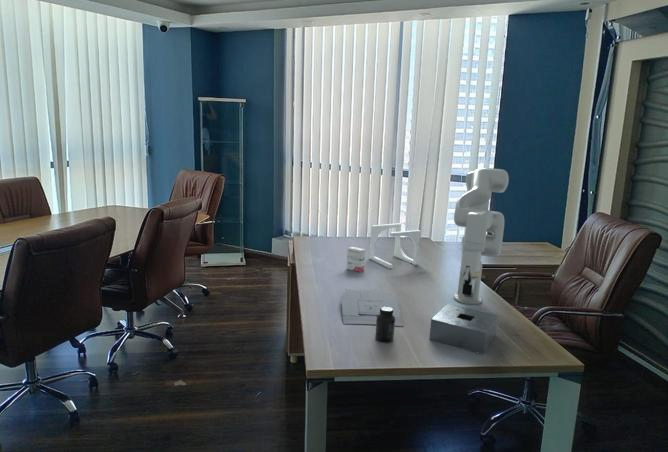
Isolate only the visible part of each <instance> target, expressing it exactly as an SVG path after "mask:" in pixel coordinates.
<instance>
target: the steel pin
mask: <svg viewBox="0 0 668 452" xmlns="http://www.w3.org/2000/svg"><path fill="white" fill-rule="evenodd" d="M464 273H465V272H464ZM463 276H465V274H464V275H463ZM469 277H471V275H469ZM477 277H479V272H477V273H476V274H475V276H474V277H473V278H472V284H471V285H472V292H471V295H466V294H463V296H465V297H473V296H474V288H475V280H476V278H477ZM469 279H470V278H469Z"/></svg>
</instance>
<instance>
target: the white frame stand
mask: <svg viewBox="0 0 668 452" xmlns="http://www.w3.org/2000/svg"><path fill="white" fill-rule="evenodd" d="M388 229H395V231H391V232H389V237H391V238H393V237H395V239H394V240H395V241H394V248H393V249H394V250H393V251H394V253H393V256H394V257H396V258H398V259H401V260H403V261H405V262H407V263H409V264H411V263H412V265H413V266H418V265H419V255H420V246H421V236H422V231H421V230H420V229H413V230H402V223H397V222H396V223H387V224H373V225H371V229H370V243H369V244H370V245H369V256H368V259H370V260H371V261H374V262H375V263H376V264H377V263H378V264H380V265H382V266H383V267H386V268H388V269H393V267H394V265H393V264H392V263H391V262H388V261H386V260H384V259H381V258H380V257H377V256H376V255H375V252H376V251H375V248H376V242H377V239H378V238H379V236H380V234H381V233H382V232H384V231H386V230H388ZM404 236H406V237H408V238H410V240H411V241H412V242H413V256H412V257H413V258H411V257H409V256H408V255H406V254H405V252H404V250H403V248H402V245H401V237H404Z"/></svg>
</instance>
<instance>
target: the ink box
mask: <svg viewBox="0 0 668 452" xmlns="http://www.w3.org/2000/svg"><path fill="white" fill-rule="evenodd" d="M346 254H347V255H346V256H347V257H346V269H347V270H350V271H354V272H355V271H356V272H360V273H361V272H363V271H364V270H365V259H366V258H365V257H366V249H365V248H360V247H357V246H356V247H355V246H350V247H348V248H347V253H346Z"/></svg>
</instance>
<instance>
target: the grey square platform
mask: <svg viewBox="0 0 668 452" xmlns="http://www.w3.org/2000/svg"><path fill="white" fill-rule="evenodd" d="M498 318H499V315H498V314H494V313H490V312H486V311H482V310H478V309H474V308H468V307H465V306H461V305H456V304H452V303H450V302H448V303H447V304H445V305H444V307H442V309H440V310H439V311H438V312H437V313H436V314H434V316H433V317H432V318H431V320H430V328H429V336H428V337H429V340H431V341H433V342H438V343H441V344H445V345H449V346H452V347H455V346H456V348H459V347H460V349H462V348H464V350H466V349H468V350H467V351H469V350H471V351H470V352H473V351H475V352H474V353H476V352H479V353H478V354H480V353H482V354H481V355H484V353H485V352H484V351H487V349H488V347H489V346H488V345H490V344H491V342H492V341H493V339H494V338H495V336H496V335H497V329H498V328H497V326H498V320H499V319H498ZM495 334H496V335H495ZM493 337H494V338H493ZM491 340H492V341H491ZM489 343H490V344H489ZM486 348H487V349H486Z"/></svg>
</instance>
